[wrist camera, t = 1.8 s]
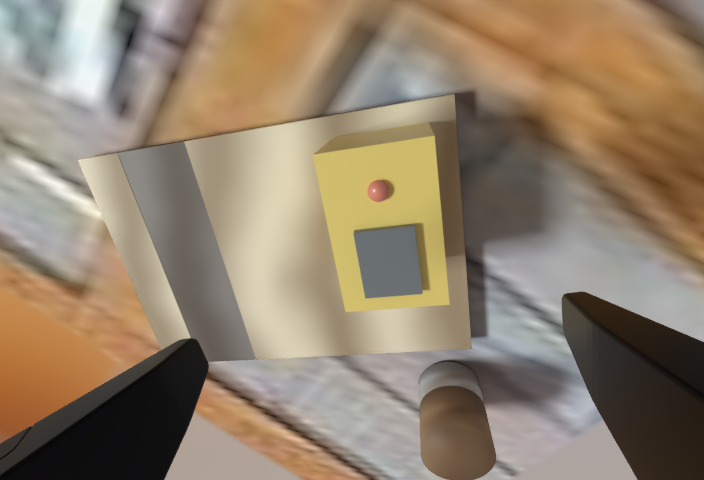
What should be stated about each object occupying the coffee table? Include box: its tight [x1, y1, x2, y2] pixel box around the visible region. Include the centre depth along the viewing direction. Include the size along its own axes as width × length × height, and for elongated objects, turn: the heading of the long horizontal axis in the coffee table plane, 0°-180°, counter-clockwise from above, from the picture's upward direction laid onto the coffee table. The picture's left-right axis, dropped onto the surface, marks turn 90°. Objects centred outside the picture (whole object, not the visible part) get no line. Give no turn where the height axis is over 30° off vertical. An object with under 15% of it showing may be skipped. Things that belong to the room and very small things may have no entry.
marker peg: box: [418, 362, 496, 480], centre depth 22 cm, size 4×4×5 cm
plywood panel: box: [78, 94, 472, 362], centre depth 22 cm, size 20×14×1 cm
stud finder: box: [313, 122, 450, 312], centre depth 17 cm, size 4×7×5 cm, turn 10°
